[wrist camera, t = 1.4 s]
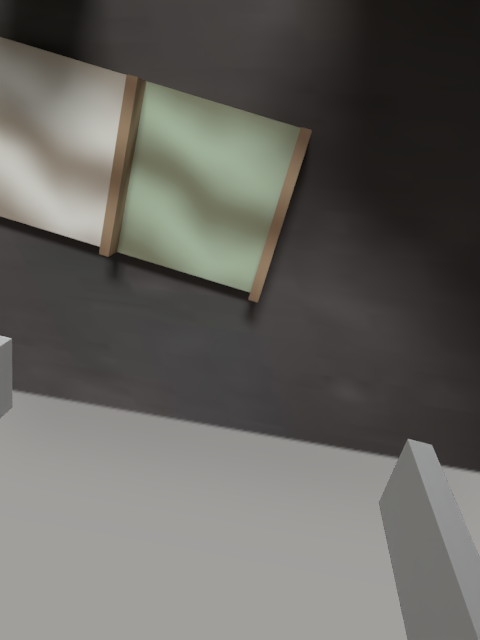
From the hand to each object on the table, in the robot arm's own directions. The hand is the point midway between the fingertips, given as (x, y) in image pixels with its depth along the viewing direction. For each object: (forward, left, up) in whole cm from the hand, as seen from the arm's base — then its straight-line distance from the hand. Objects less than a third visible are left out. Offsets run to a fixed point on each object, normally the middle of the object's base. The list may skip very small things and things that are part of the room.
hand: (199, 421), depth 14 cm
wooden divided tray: (-4, -12, -24) cm, 27 cm away
